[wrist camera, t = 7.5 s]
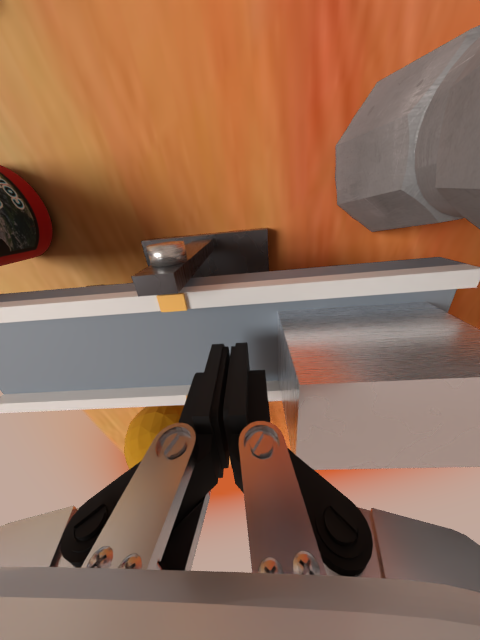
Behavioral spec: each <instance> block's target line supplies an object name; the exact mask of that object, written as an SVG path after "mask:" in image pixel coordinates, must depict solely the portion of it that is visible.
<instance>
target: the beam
mask: <svg viewBox="0 0 480 640" xmlns="http://www.w3.org/2000/svg"><path fill="white" fill-rule="evenodd" d="M479 281H480V267H477V266H473V265H469V264H465V263H461V262H457V261H453V260H449V259H445V258H442V257H433V258H421V259H409V260H397V261H386V262H374V263H362V264H350V265H338V266H327V267H315V268H303V269H291V270H280V271H268V272H256V273H244V274H233V275H221V276H209V277H197V278H191V279H190V280H189V281H188V282H187V283H186V285H185V286H184V287H183V288H182V289H181V291H180V292H179V293H178V294H165V295H152V296H140V297H138V295H137V292H136V289H135V286H134V283H127V284H115V285H103V286H91V287H80V288H68V289H56V290H44V291H33V292H21V293H9V294H0V390H1V391H2V393H3V394H4V395H2V396H1V397H0V413H11V412H33V411H56V410H78V409H79V410H80V409H103V408H126V407H149V406H172V405H184V404H185V401H186V398H187V395H188V392H189V389H190V386H191V383H192V380H193V377H194V375H195V373H199V372H204V371H205V367H206V364H207V360H208V356H209V353H210V349H211V346H212V344H224V346H225V347H227V346H228V347H229V353H231V346H235V345H236V343H245V342H247V344H248V354H249V366H250V370H265V373H266V384H267V394H268V401H282V397H281V391H280V386H279V381H278V311H290V310H305V309H320V308H335V307H351V306H366V305H381V304H396V303H412V302H428V303H430V304H431V305H433V306H435V307H437V308H439V309H441V310H443V311H445V312H447V313H448V310H449V308H450V305H451V303H452V300H453V298H454V295H455V292H456V290H457V289H462V288H475V287H477V285H478V283H479Z"/></svg>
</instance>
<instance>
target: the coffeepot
mask: <svg viewBox="0 0 480 640" xmlns="http://www.w3.org/2000/svg"><path fill="white" fill-rule="evenodd" d="M335 181H336V189H337V205H338V206H340V207H341V208H342V209H343V210H345V211H346V212H347V213H348V214H349V215H350V216H351V217H352V218H354V219H355V220H357V221H359V222H360V223H361V224H362V225H364V226H365V227H366V228H368V229H369V230H370V231H371V232H374V231H381V230H388V229H396V228H403V227H411V226H418V225H425V224H433V223H440V222H446V221H452V220H457V219H462V218H466V219H467V220H468V221H470V222H471V223H472V224H474V225H475V226H476V227H478V228H479V229H480V25H479V26H477V27H475V28H472V29H470V30H469V31H467V32H465V33H463V34H462V35H460V36H458V37H456V38H454V39H453V40H451V41H449V42H447V43H446V44H444V45H442V46H440V47H439V48H437V49H435V50H433V51H432V52H430V53H428V54H426V55H424V56H423V57H421V58H419V59H417V60H416V61H414V62H412V63H410V64H409V65H407V66H405V67H403V68H402V69H400V70H398V71H396V72H394V73H393V74H391V75H389V76H387V77H386V78H384V79H382V80H380V81H379V82H377V84H376V85H375V87H374V88H373V90H372V91H371V93H370V94H369V96H368V97H367V99H366V100H365V102H364V103H363V105H362V106H361V108H360V109H359V110H358V112H357V113H356V115H355V116H354V118H353V119H352V121H351V123H350V125H349V126H348V128H347V129H346V131H345V133H344V134H343V136H342V137H341V139H340V140H339V142H338V143H337V145H336V169H335Z"/></svg>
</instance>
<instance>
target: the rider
mask: <svg viewBox="0 0 480 640" xmlns="http://www.w3.org/2000/svg"><path fill="white" fill-rule="evenodd" d="M278 381H279V386H280V391H281V397H282V402H283V408H284V413H285V419H286V424H287V430H288V435H289V441H290V446H291V451H292V452H293V453H294V454H295V455H296V456H298V457H299V458H300V459H301V460H302V461H304V462H305V463H306V464H307V465H308V466H310V467H311V468H312V469H313V470H317V469H318V470H324V469H378V468H379V469H381V468H434V467H435V468H437V467H480V330H479V329H477V328H476V327H474V326H472V325H470V324H468V323H466V322H464V321H462V320H460V319H458V318H456V317H454V316H453V315H451V314H449V313H447V312H445V311H443V310H441V309H439V308H437V307H435V306H433V305H431V304H430V303H428V302H412V303H396V304H381V305H366V306H351V307H335V308H320V309H305V310H290V311H278Z"/></svg>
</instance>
